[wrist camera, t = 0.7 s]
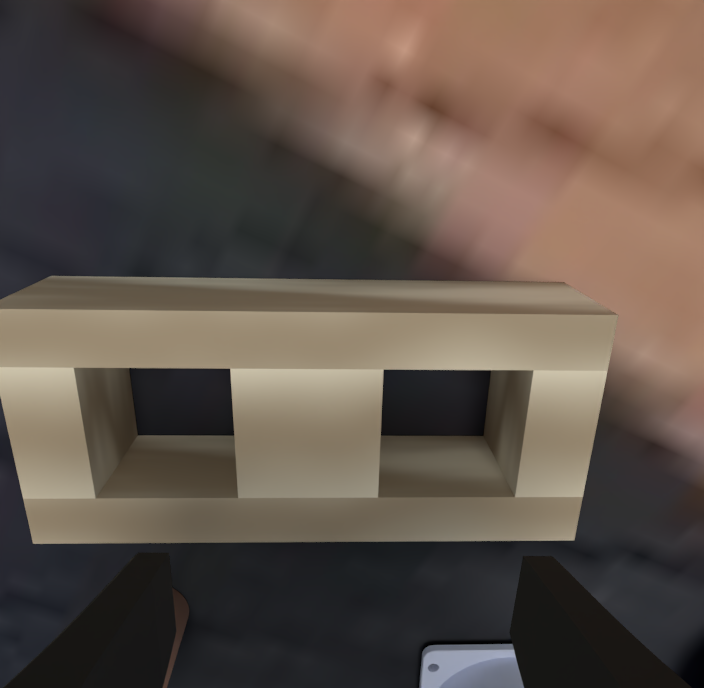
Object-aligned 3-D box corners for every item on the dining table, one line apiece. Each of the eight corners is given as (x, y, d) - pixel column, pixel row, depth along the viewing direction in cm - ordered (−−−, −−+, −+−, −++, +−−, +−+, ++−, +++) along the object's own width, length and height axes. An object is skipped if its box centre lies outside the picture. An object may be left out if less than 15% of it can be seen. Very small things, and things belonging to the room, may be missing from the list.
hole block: (533, 473, 22) (574, 540, 19) (85, 474, 22) (33, 543, 18) (563, 282, 20) (618, 314, 16) (51, 276, 19) (-19, 308, 15)
